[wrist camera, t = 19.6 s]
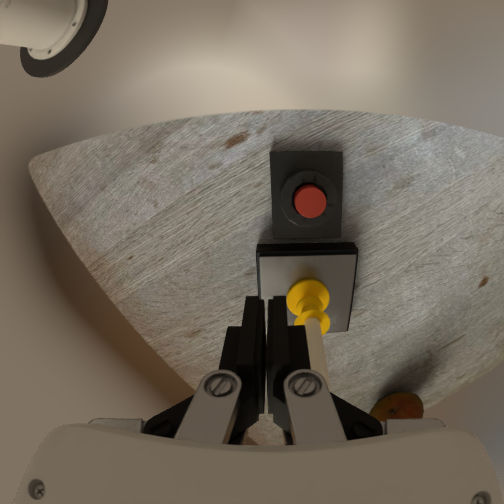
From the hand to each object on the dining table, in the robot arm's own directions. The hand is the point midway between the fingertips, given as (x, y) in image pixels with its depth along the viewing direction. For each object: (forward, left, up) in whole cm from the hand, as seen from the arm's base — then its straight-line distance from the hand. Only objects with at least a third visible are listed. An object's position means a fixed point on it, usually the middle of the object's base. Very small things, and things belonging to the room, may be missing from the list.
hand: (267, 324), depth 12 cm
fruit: (+39, +23, -23) cm, 51 cm away
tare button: (-1, +4, -20) cm, 20 cm away
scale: (+11, +4, -23) cm, 25 cm away
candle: (+11, +4, -20) cm, 23 cm away
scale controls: (-1, +4, -23) cm, 23 cm away
